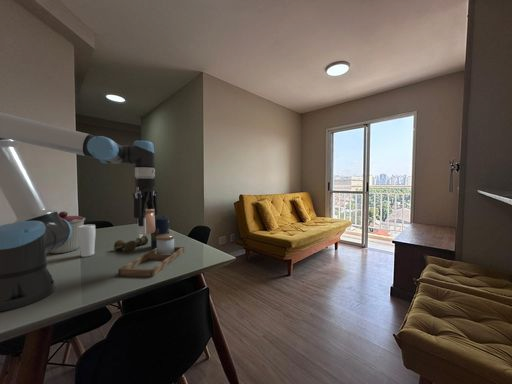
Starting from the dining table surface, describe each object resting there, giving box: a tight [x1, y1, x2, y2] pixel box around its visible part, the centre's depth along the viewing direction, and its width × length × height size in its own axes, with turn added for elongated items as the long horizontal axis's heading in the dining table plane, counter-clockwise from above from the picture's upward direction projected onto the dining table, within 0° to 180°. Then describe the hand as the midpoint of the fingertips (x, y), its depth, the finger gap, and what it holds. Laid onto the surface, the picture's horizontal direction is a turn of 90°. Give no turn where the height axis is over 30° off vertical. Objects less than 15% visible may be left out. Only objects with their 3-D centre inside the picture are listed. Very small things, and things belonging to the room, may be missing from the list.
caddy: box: [118, 246, 185, 278], centre depth 94 cm, size 29×14×2 cm, turn 176°
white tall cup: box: [78, 224, 97, 258], centre depth 102 cm, size 7×7×15 cm
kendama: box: [113, 235, 149, 253], centre depth 113 cm, size 6×10×20 cm
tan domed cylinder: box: [144, 208, 155, 235], centre depth 88 cm, size 6×6×10 cm
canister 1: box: [48, 211, 86, 254], centre depth 109 cm, size 18×18×21 cm
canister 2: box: [150, 215, 170, 249], centre depth 116 cm, size 10×10×18 cm
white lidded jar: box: [156, 233, 176, 254], centre depth 102 cm, size 9×9×10 cm
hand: (147, 231), depth 88 cm, fingers closed on tan domed cylinder, 6 cm apart
